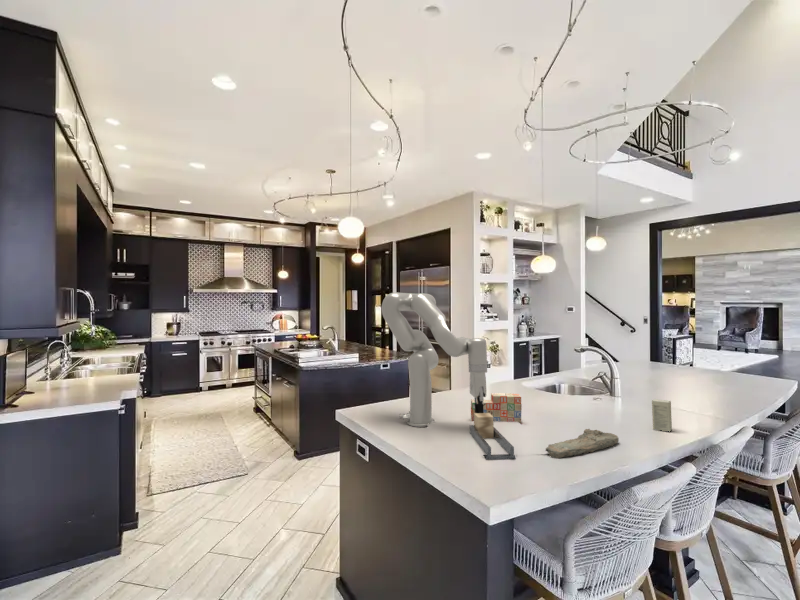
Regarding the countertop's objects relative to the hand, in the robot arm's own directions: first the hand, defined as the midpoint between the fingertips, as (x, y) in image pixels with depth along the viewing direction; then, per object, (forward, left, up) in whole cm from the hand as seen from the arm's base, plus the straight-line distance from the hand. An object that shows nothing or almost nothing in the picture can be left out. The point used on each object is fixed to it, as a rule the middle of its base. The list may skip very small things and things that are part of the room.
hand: (479, 413), depth 169 cm
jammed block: (-1, -9, -6) cm, 11 cm away
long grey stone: (+33, -22, -8) cm, 40 cm away
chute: (-1, -18, -8) cm, 19 cm away
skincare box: (+76, -3, -8) cm, 77 cm away
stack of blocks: (+11, +14, -8) cm, 19 cm away
